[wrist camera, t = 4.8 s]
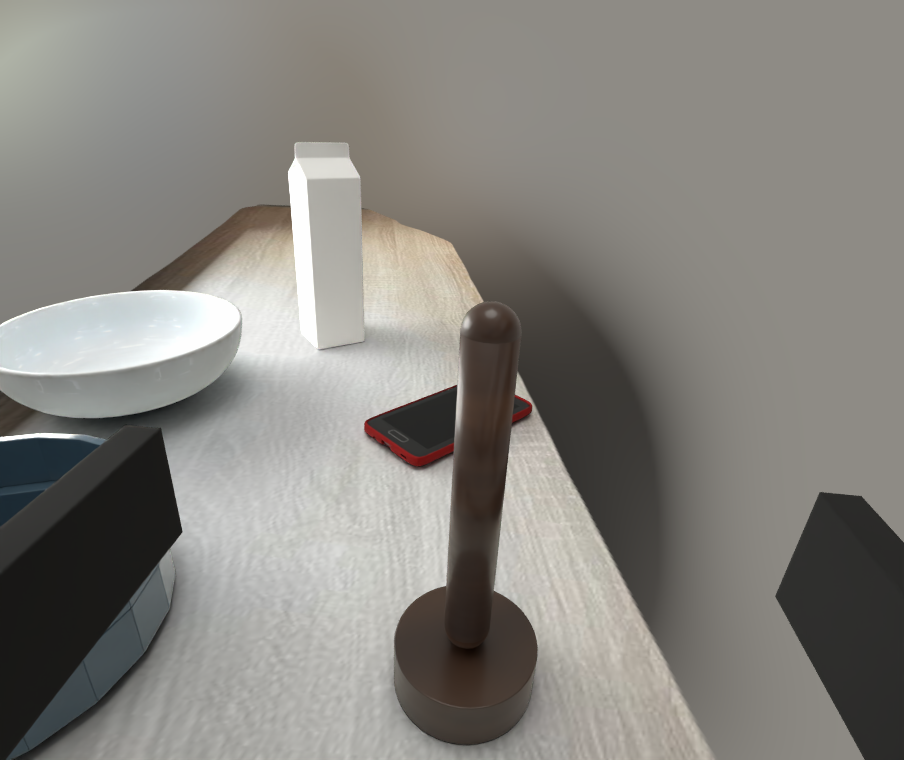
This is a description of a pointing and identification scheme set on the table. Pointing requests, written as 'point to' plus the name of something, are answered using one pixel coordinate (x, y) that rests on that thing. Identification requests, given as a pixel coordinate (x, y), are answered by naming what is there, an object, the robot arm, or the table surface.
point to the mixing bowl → (11, 489)
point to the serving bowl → (117, 352)
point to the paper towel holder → (472, 563)
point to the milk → (327, 243)
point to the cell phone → (425, 426)
